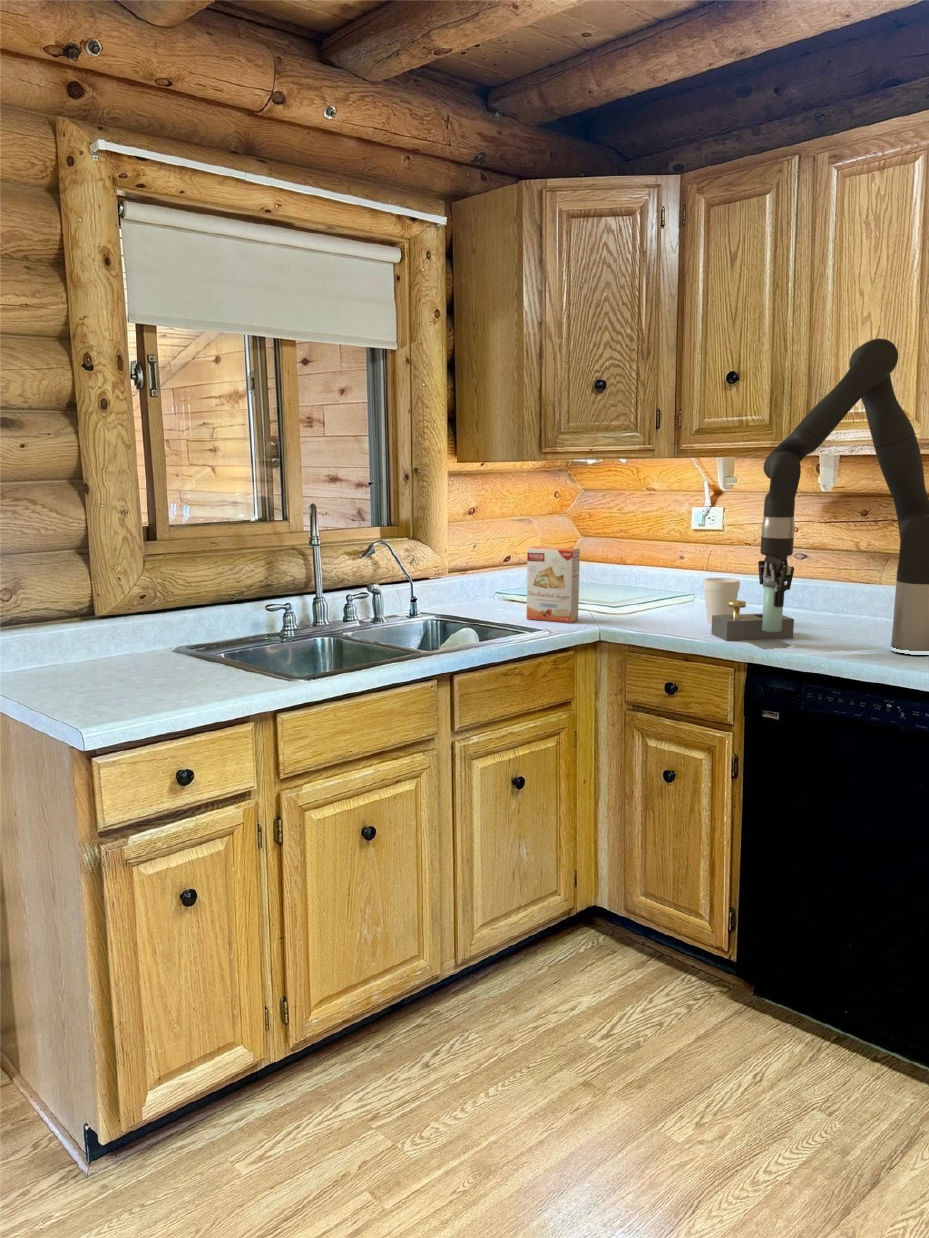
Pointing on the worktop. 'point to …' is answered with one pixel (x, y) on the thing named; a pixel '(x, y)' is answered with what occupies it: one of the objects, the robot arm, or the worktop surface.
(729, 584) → the foam cup
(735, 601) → the brass plunger
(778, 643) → the slate mat
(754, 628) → the block
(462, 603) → the worktop surface
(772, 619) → the cylinder
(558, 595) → the cracker box
